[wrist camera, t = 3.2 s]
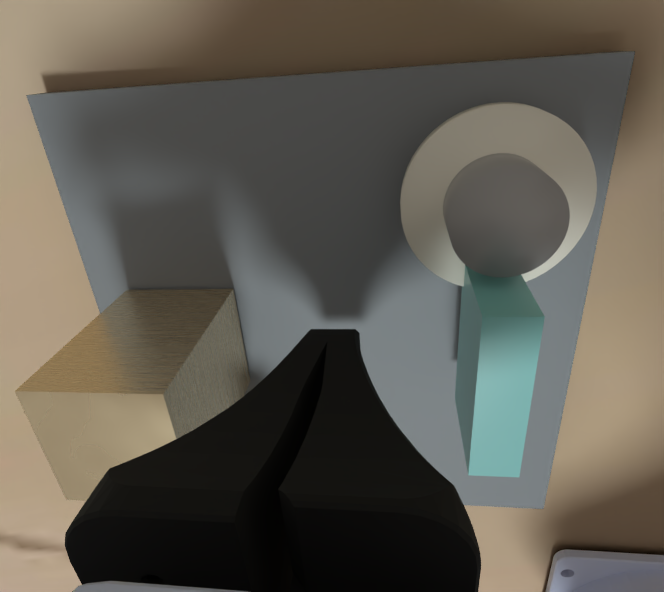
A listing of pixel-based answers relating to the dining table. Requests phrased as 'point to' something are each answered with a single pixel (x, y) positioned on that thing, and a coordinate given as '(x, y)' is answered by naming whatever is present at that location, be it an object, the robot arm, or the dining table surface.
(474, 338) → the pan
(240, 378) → the beige rectangular block
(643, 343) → the dining table surface
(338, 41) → the dining table surface
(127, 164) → the grey dial panel
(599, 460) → the dining table surface
